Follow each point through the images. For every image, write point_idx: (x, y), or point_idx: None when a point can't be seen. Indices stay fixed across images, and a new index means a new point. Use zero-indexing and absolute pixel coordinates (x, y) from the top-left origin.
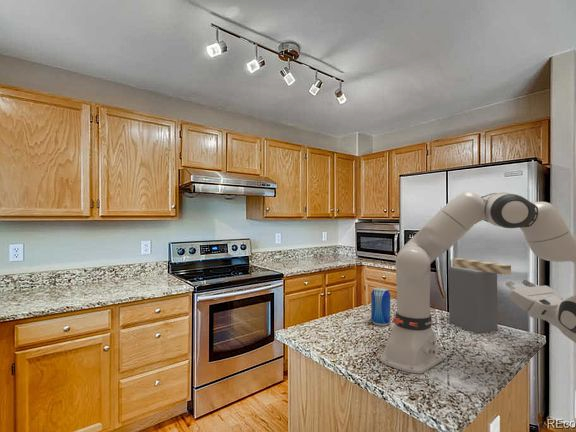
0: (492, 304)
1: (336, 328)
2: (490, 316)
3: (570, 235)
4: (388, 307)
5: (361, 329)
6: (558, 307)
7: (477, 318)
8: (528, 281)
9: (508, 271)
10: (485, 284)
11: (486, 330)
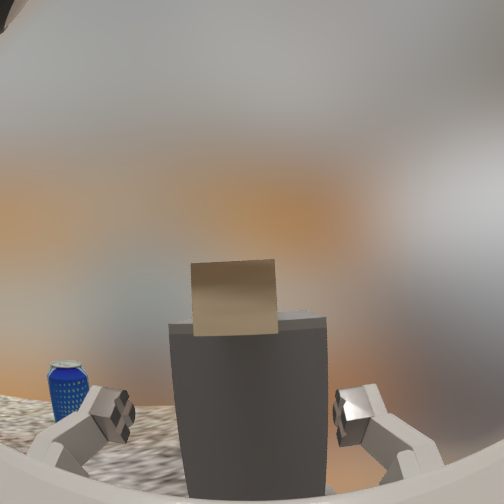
0: (290, 482)
1: (13, 413)
2: None
3: None
4: (64, 406)
5: (27, 429)
6: None
7: None
8: (368, 405)
9: (245, 310)
10: (235, 394)
11: None
